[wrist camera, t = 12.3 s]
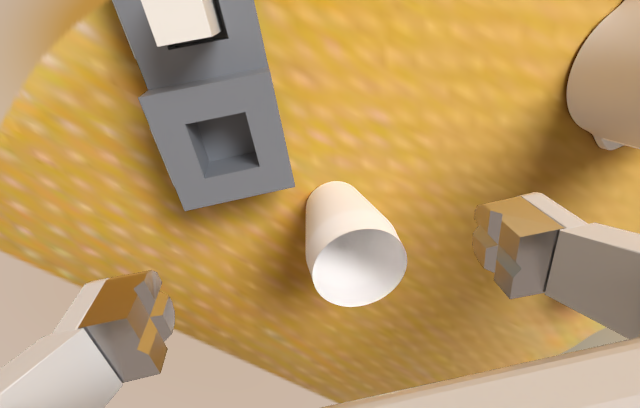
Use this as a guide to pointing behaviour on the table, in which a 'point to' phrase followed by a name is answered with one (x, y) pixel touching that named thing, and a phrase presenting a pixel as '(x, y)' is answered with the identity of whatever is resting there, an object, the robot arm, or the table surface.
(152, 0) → the plug
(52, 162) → the table surface
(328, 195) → the cup
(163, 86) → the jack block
